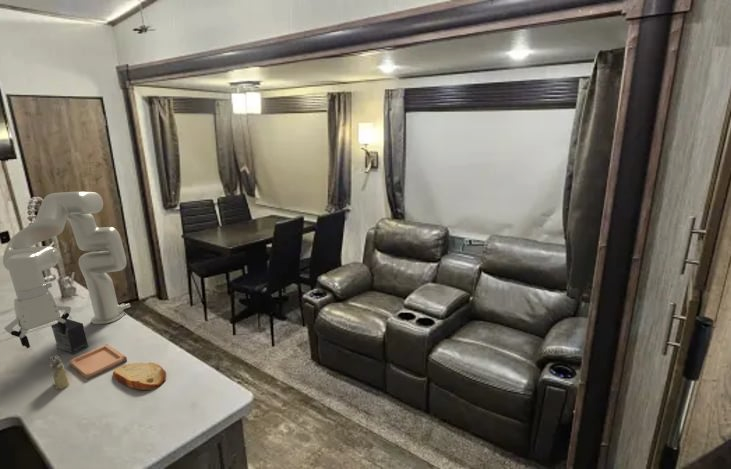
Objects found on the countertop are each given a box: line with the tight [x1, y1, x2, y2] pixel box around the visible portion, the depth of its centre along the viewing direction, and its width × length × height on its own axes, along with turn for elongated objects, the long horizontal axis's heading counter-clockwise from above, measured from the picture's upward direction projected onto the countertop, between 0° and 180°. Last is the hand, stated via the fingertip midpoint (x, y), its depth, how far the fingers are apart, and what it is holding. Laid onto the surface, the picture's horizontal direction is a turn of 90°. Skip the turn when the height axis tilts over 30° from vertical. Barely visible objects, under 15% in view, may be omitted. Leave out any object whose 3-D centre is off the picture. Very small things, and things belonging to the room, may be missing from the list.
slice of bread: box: [112, 362, 167, 391], centre depth 136 cm, size 18×18×4 cm
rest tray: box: [68, 343, 128, 380], centre depth 146 cm, size 13×16×2 cm
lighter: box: [49, 355, 70, 390], centre depth 133 cm, size 7×4×10 cm, turn 45°
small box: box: [50, 318, 89, 355], centre depth 155 cm, size 11×6×10 cm, turn 65°
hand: (45, 339), depth 129 cm, fingers open, 9 cm apart
